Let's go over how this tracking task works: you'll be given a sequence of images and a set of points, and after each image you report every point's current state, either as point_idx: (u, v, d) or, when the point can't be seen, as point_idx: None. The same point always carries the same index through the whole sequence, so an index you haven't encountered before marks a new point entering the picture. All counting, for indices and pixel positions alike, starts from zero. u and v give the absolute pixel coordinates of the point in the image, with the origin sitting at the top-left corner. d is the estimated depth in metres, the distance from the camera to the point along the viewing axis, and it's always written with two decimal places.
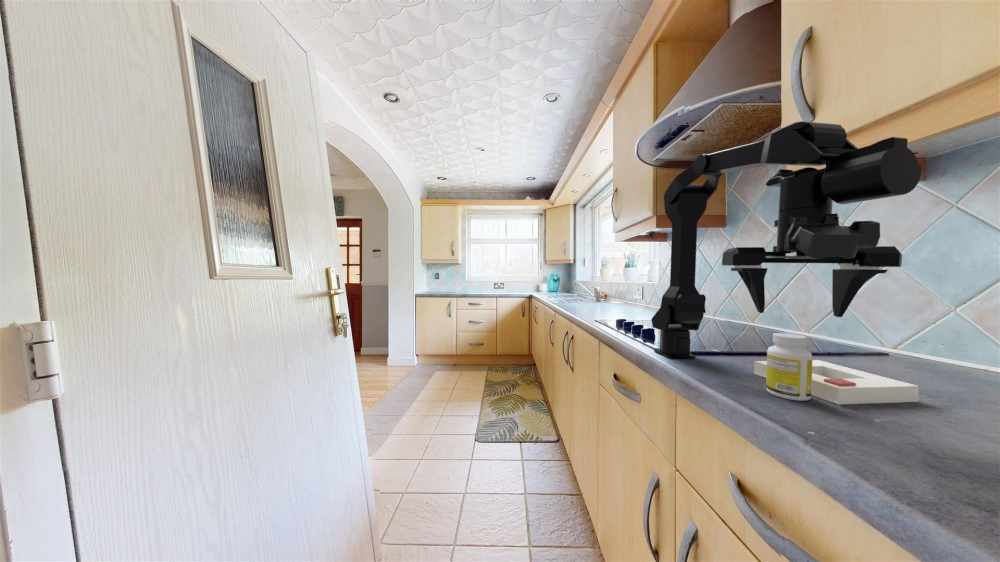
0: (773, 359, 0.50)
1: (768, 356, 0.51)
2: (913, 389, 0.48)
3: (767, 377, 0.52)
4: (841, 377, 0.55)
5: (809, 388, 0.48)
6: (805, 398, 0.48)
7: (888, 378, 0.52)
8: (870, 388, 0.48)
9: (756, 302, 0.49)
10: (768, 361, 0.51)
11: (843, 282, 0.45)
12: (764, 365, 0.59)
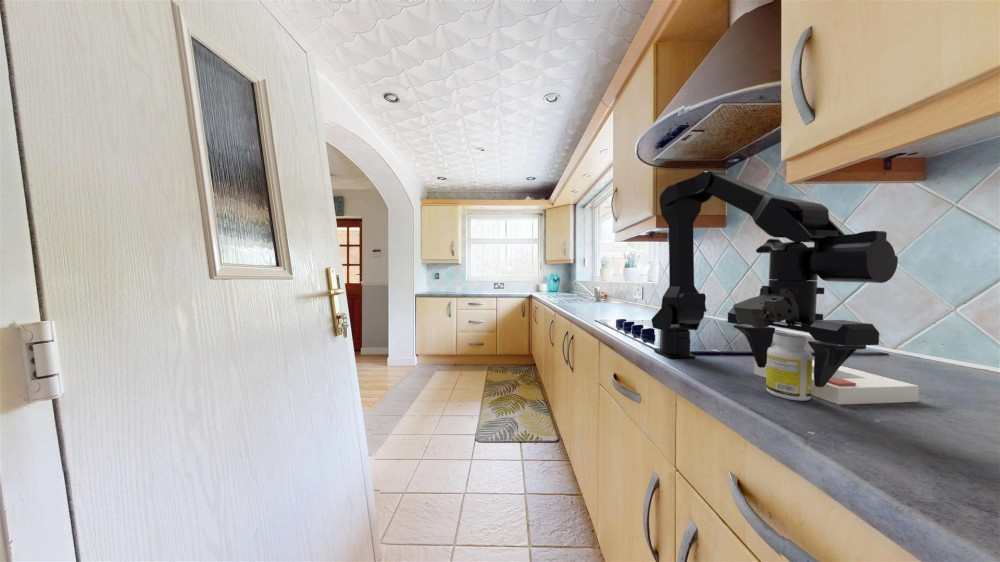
0: (773, 359, 0.50)
1: (768, 356, 0.51)
2: (913, 389, 0.48)
3: (767, 377, 0.52)
4: (841, 377, 0.55)
5: (809, 388, 0.48)
6: (805, 398, 0.48)
7: (888, 378, 0.52)
8: (870, 388, 0.48)
9: None
10: (768, 361, 0.51)
11: None
12: None
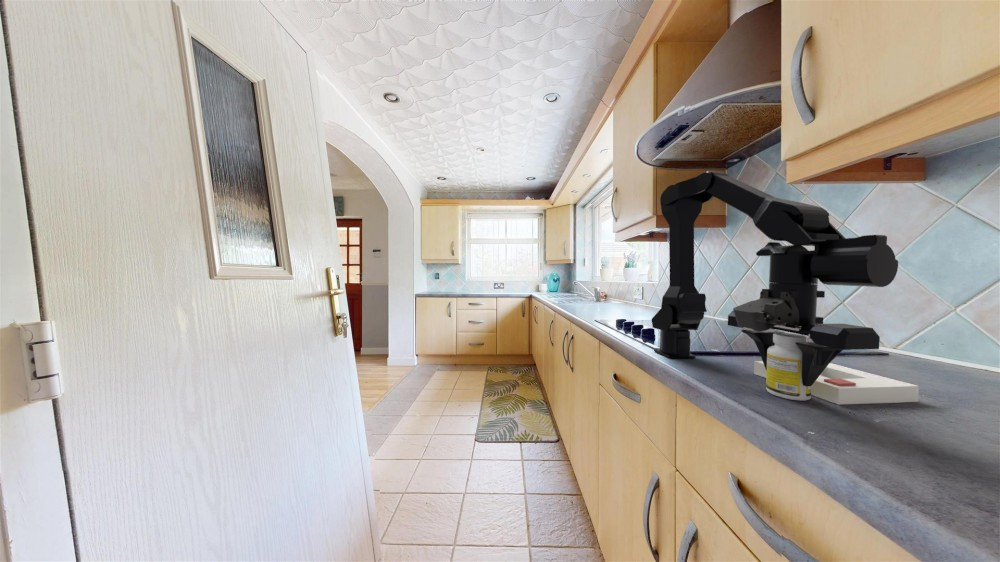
0: (773, 359, 0.50)
1: (768, 356, 0.51)
2: (913, 389, 0.48)
3: (767, 377, 0.52)
4: (841, 377, 0.55)
5: (809, 388, 0.48)
6: (805, 398, 0.48)
7: (888, 378, 0.52)
8: (870, 388, 0.48)
9: None
10: (768, 361, 0.51)
11: None
12: None
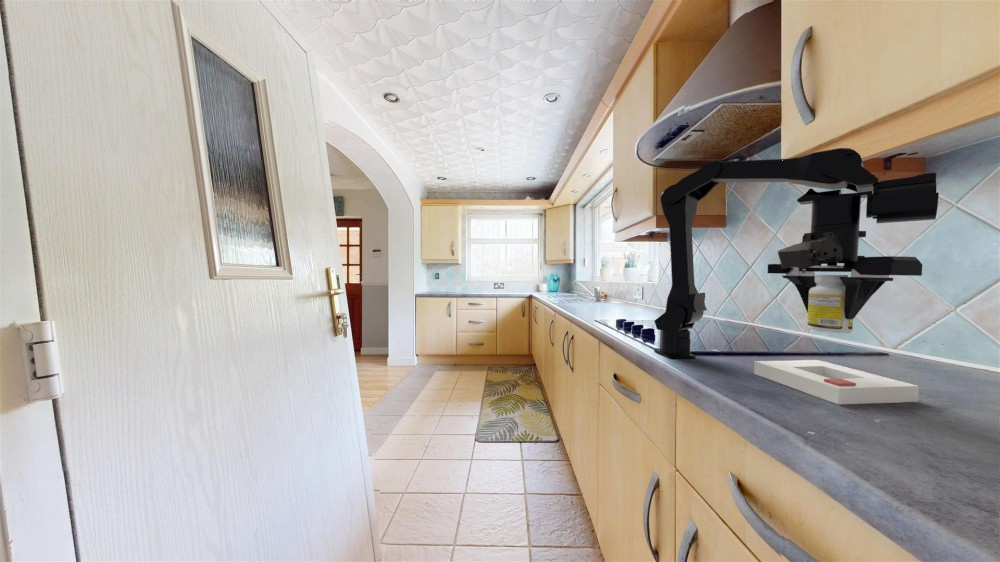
0: (816, 297, 0.54)
1: (810, 295, 0.55)
2: (913, 389, 0.48)
3: (809, 315, 0.55)
4: (841, 377, 0.55)
5: (851, 321, 0.52)
6: (847, 330, 0.52)
7: (888, 378, 0.52)
8: (870, 388, 0.48)
9: None
10: (810, 300, 0.55)
11: None
12: (764, 365, 0.59)
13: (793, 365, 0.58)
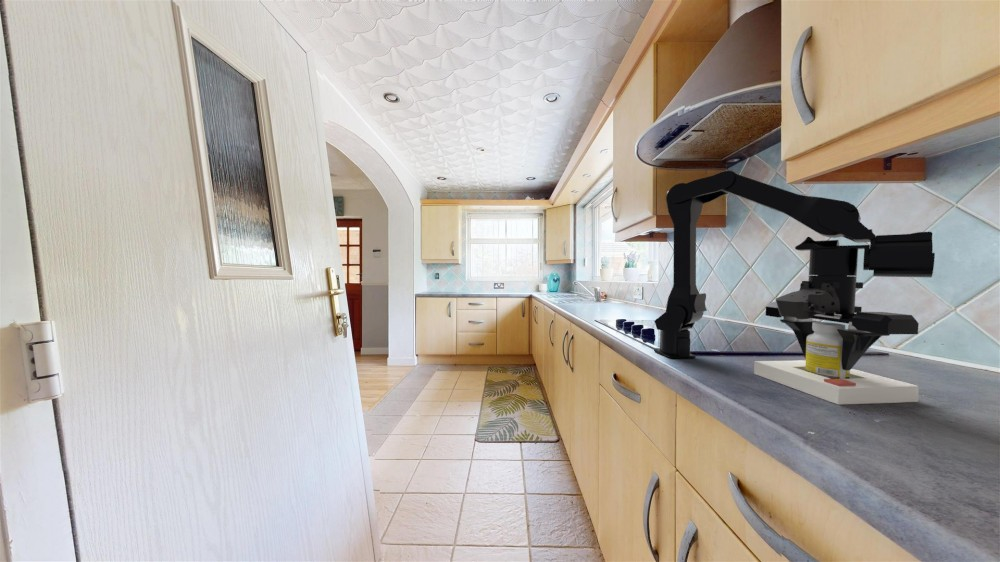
0: (814, 345, 0.54)
1: (808, 343, 0.56)
2: (913, 389, 0.48)
3: (807, 362, 0.56)
4: None
5: (848, 372, 0.52)
6: None
7: (888, 378, 0.52)
8: (870, 388, 0.48)
9: (805, 350, 0.58)
10: (808, 348, 0.56)
11: None
12: (764, 365, 0.59)
13: (793, 365, 0.58)
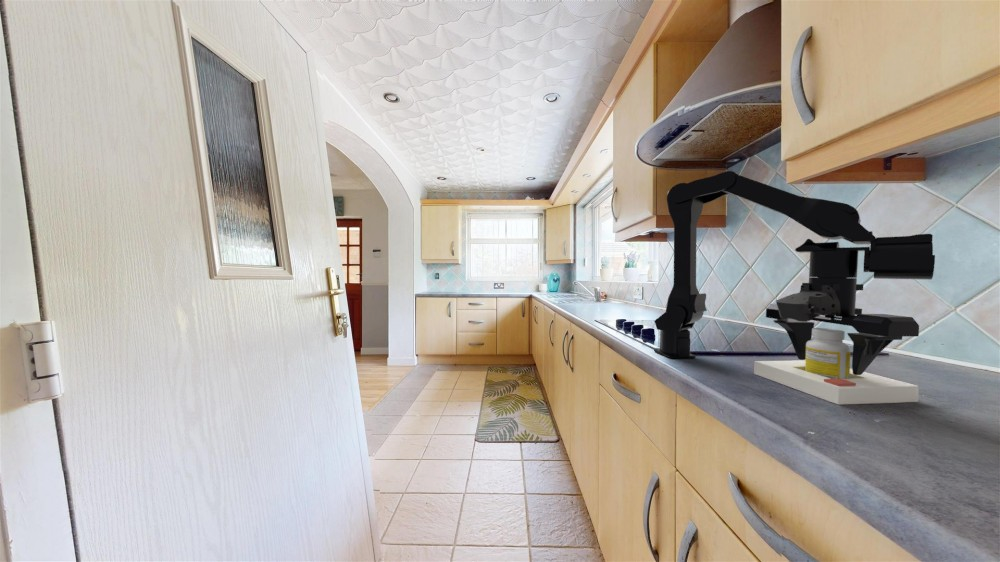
0: (813, 352, 0.54)
1: (807, 349, 0.56)
2: (913, 389, 0.48)
3: (806, 368, 0.56)
4: None
5: (848, 378, 0.52)
6: None
7: (888, 378, 0.52)
8: (870, 388, 0.48)
9: None
10: (807, 354, 0.56)
11: None
12: (764, 365, 0.59)
13: (793, 365, 0.58)
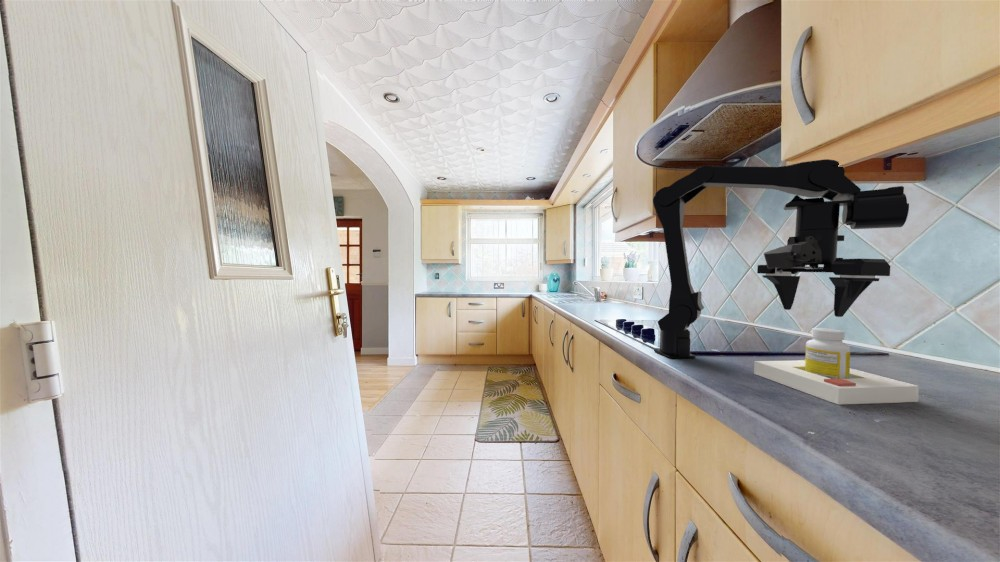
0: (813, 351, 0.54)
1: (807, 349, 0.56)
2: (913, 389, 0.48)
3: (806, 368, 0.56)
4: None
5: (848, 378, 0.52)
6: None
7: (888, 378, 0.52)
8: (870, 388, 0.48)
9: None
10: (807, 354, 0.56)
11: None
12: (764, 365, 0.59)
13: (793, 365, 0.58)
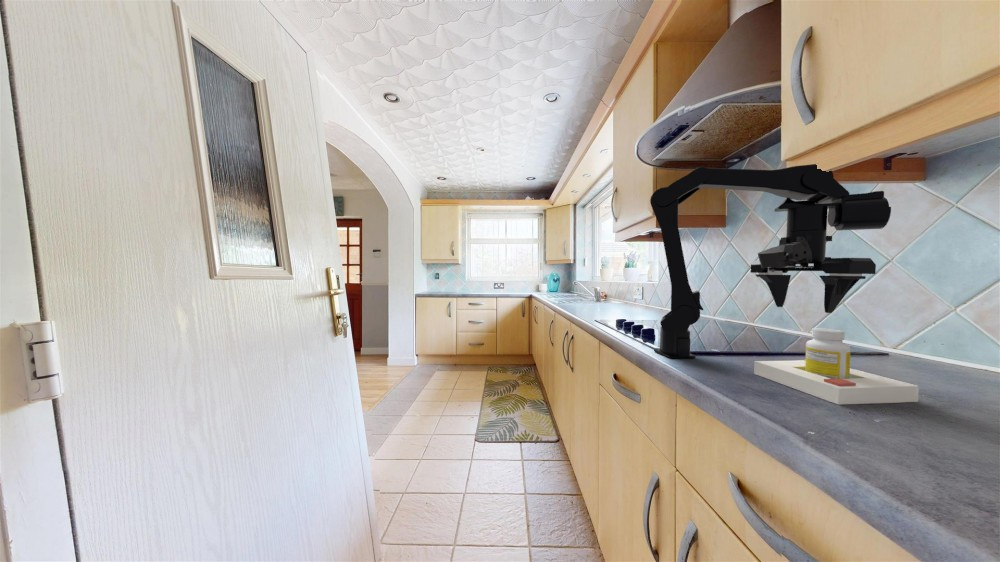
0: (813, 352, 0.54)
1: (807, 349, 0.56)
2: (913, 389, 0.48)
3: (806, 368, 0.56)
4: None
5: (848, 378, 0.52)
6: None
7: (888, 378, 0.52)
8: (870, 388, 0.48)
9: None
10: (807, 354, 0.56)
11: None
12: (764, 365, 0.59)
13: (793, 365, 0.58)
